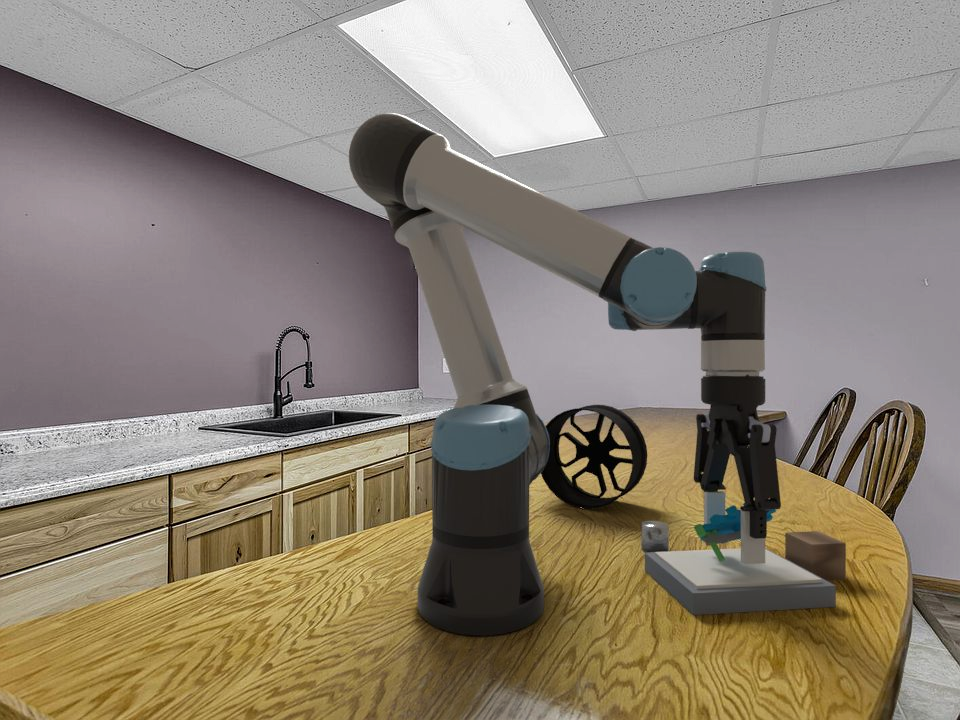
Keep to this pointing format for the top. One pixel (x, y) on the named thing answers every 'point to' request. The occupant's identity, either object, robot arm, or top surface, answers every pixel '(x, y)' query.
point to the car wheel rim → (593, 457)
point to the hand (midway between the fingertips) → (732, 550)
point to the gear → (723, 529)
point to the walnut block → (817, 554)
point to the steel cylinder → (654, 536)
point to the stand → (737, 582)
